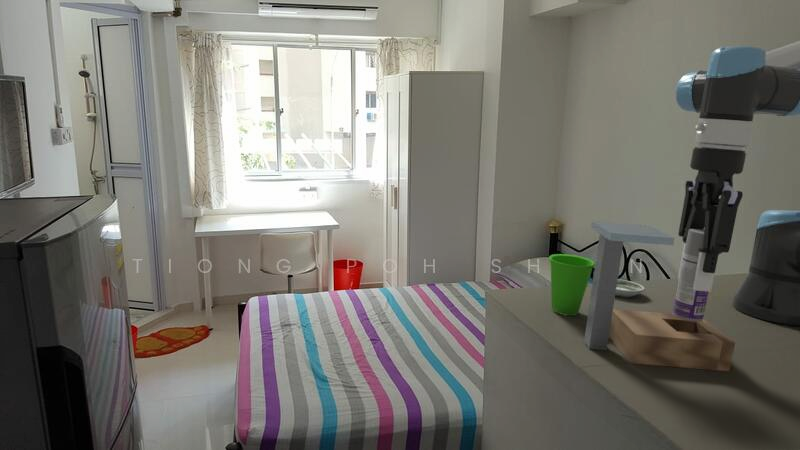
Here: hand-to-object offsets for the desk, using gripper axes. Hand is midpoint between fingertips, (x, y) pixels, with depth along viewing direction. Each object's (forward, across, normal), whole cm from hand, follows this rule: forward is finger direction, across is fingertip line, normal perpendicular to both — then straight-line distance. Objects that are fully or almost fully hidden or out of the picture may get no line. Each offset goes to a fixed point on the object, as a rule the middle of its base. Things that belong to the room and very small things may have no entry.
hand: (693, 285), depth 94 cm
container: (+6, 0, 0) cm, 6 cm away
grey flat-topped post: (+12, 0, -12) cm, 17 cm away
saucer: (+13, -33, +1) cm, 36 cm away
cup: (+13, -17, -16) cm, 27 cm away
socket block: (+12, 0, -3) cm, 13 cm away
